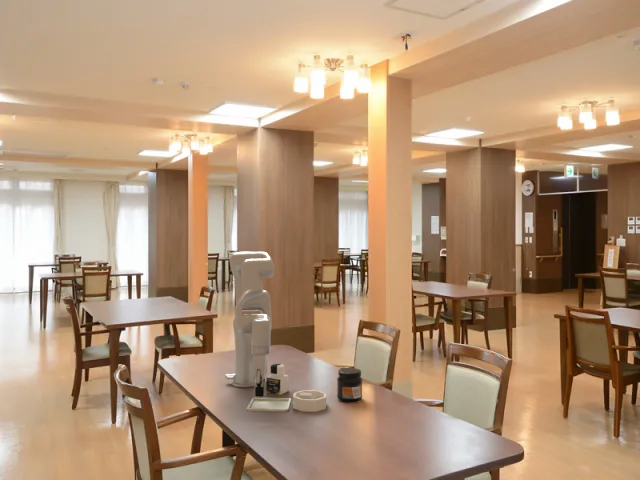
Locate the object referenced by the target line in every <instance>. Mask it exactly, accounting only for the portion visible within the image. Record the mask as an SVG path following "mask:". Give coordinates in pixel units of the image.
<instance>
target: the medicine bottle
mask: <svg viewBox="0 0 640 480" xmlns="http://www.w3.org/2000/svg"><path fill="white" fill-rule="evenodd" d="M285 367H286V366H285V365H284V364H282V363H274V364H271V365H270V375H267V376H265V382H266V394H267V393H268V394H273V395H278V396H279V395H283V394H285V393H287V392H289V385H290V384H289V379H290V378H289V375H288V374H285V373H286V372H285V371H286V370H285V369H286V368H285Z"/></svg>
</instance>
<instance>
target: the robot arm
mask: <svg viewBox="0 0 640 480" xmlns="http://www.w3.org/2000/svg"><path fill="white" fill-rule="evenodd" d="M229 267H230V270H231V273H232V275H233V280H234V284H235V286H234V288H235V292H234V293H235V309H234V318H233V320H232V329H233V334H234V373H232V374H231V373H230V374H228V373H226V374H225V379H226V380H232V381H231V385H232V386H234V387H235V388H236V387H237V388H252V387H253V388H254V383H255V381H256V386H255V396H254V397H255V398H264V397H265V396H264V386H263V381H265V382H266V377H267V374H268V357H269V356H268V355H270V354H271V336H272V333H271V332H272V328H273V324H272V322H273V320H272V318H273V317H272V300H271V295H270V293H269V292H268V290H266V289H265V290H264V283H263V279H269V278H272V277H273V276H274V274H275V264H274V261H273V259H272V257H271V256H270V255H269V253H268V252H265V251H239V252H234V253H233V254H231V256H230V257H229ZM243 312H260V313H244V314H243ZM260 381H261V382H260Z"/></svg>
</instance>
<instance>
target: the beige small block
mask: <svg viewBox="0 0 640 480" xmlns="http://www.w3.org/2000/svg"><path fill="white" fill-rule="evenodd" d="M260 382H261V381H260ZM255 386H256V381H255V383H254V386H253V396H254V397H256V396H255ZM263 386H264V396H263V397H266V395H267V392H266V380H265V381H263Z"/></svg>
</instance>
